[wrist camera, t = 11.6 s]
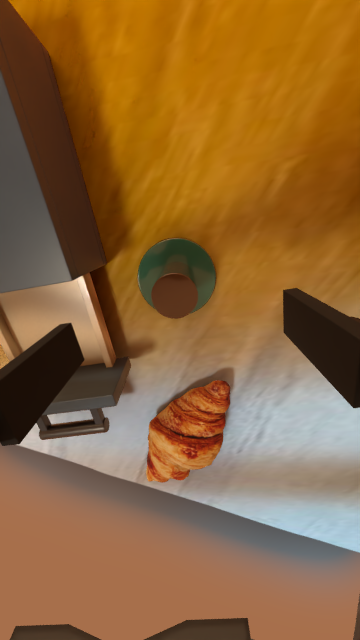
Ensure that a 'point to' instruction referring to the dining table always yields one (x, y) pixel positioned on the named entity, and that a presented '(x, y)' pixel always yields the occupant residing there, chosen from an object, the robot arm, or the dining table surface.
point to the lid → (176, 277)
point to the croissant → (187, 432)
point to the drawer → (89, 326)
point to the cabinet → (38, 171)
